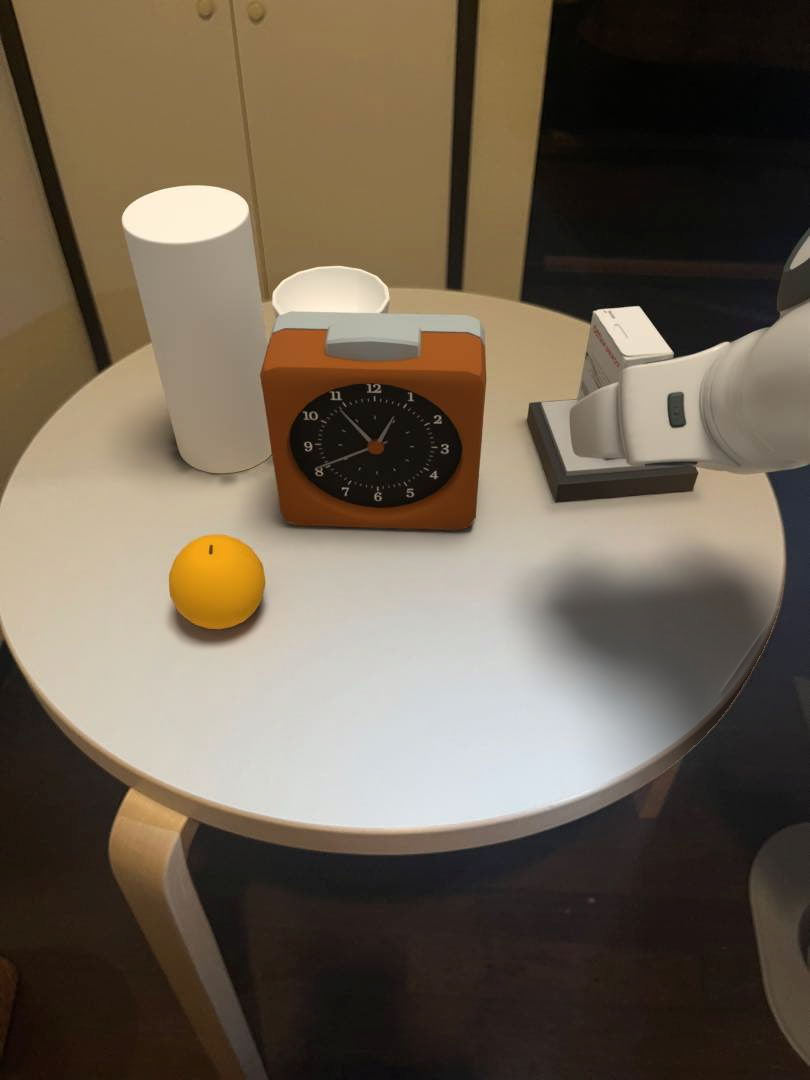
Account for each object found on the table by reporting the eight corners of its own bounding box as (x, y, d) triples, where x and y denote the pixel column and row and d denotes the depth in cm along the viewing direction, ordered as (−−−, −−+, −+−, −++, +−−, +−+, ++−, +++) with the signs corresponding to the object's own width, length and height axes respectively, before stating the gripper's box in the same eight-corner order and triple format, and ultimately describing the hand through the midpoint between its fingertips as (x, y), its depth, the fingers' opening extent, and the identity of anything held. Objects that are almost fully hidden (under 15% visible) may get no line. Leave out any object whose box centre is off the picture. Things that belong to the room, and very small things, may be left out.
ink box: (650, 454, 85) (678, 352, 76) (603, 461, 84) (625, 359, 76) (617, 402, 91) (639, 302, 82) (573, 408, 90) (590, 308, 81)
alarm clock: (280, 528, 82) (252, 343, 67) (293, 467, 88) (269, 285, 73) (474, 533, 82) (489, 348, 67) (473, 472, 88) (487, 289, 73)
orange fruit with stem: (162, 634, 73) (143, 575, 68) (198, 567, 79) (182, 508, 73) (251, 651, 72) (238, 593, 67) (281, 581, 77) (272, 522, 72)
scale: (651, 410, 95) (657, 387, 92) (693, 490, 86) (700, 467, 83) (526, 420, 93) (529, 397, 91) (555, 502, 85) (559, 478, 82)
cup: (260, 394, 97) (247, 307, 89) (320, 340, 104) (313, 255, 96) (355, 428, 92) (350, 339, 84) (410, 369, 100) (411, 282, 92)
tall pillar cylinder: (300, 435, 92) (274, 208, 74) (225, 488, 86) (177, 255, 68) (232, 396, 96) (192, 173, 78) (156, 444, 91) (94, 215, 73)
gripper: (905, 344, 56) (793, 380, 70) (601, 368, 55) (548, 400, 69) (912, 440, 57) (800, 457, 70) (609, 467, 55) (555, 479, 69)
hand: (673, 429), depth 70 cm, fingers open, 8 cm apart
